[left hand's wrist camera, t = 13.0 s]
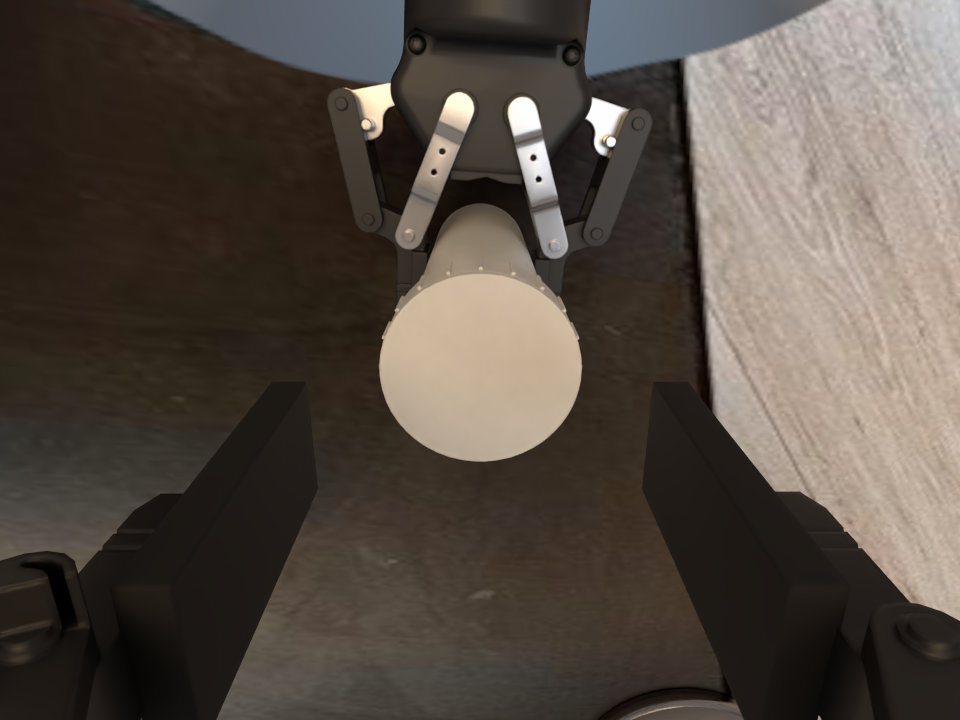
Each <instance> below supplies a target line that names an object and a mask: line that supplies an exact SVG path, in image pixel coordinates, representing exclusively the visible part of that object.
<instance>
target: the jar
mask: <svg viewBox="0 0 960 720" xmlns="http://www.w3.org/2000/svg"><path fill="white" fill-rule="evenodd" d="M479 257H483V259H489V260H496V261H502V262H505V263H510V261H511V262H513V263H514V265H515V266H517V267H520V268H522V269H524V270H526V271H528V272H529V273H531V274H533V275H534V276H537V274H536V271H535V268H534V266H533V263H532V260H531V257H530V255H529V252H528V249H527V247H526V244H525V241H524V239H523V236H522V233H521V231H520V228H519V226H518V224H517V223H516V222H515V220H514V219H513V218H512V217H511V216H510V215H509V214H508V213H507V212H505V211H504V210H502V209H501V208H498V207H496V206H493V205H490V204H479V203H478V204H471V205H467V206H464V207H462V208H460V209H458V210H456V211H455V212H454V213H452V214H451V215H450V216H449V217H448V218H447V219H446V221H445V222H444V223H443V225H442V227H441V229H440V231H439V234H438V236H437V239H436V242H435V245H434V247H433V250H432V253H431V256H430V258H429V261H428V264H427V267H426V269H425V272H424V275H425V276H427V275H428V274H430V273H432V272H433V271H435V270H437V269H439V268H441V267H444V266H446V265H448V262H450V261H452V263H456V262H460V261H465V260H474V259H479Z"/></svg>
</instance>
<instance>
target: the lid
mask: <svg viewBox="0 0 960 720" xmlns="http://www.w3.org/2000/svg"><path fill="white" fill-rule="evenodd" d="M395 311H396V312H395V315H394V317H393V319H392V321H391V322H390V321H389V323H388V325H387V327H386V329H385V332H384V334H383V336H382V339H384V341H383V345H382V349H381V354H380V364H379V368H380V380H381V386H382V390H383V393H384V396H385V399H386V402H387V404H388V406H389V408H390V410H391V412H392V413H393V415H394V416H395V418H396V419H397V421H398V422H399V423H400V425H401V426H402V427H403V428H404V429H405V430H406V431H407V432H408V433H409V434H410V435H411V436H412V437H413V438H414V439H416V440H417V441H418V442H420V443H421V444H423V445H424V446H426V447H428V448H430V449H432V450H433V451H435V452H437V453H440V454H443V455H445V456H448V457H452V458H456V459H460V460H467V461H494V460H501V459H505V458H510V457H513V456H516V455H518V454H521V453H523V452H526V451H528V450H530V449H532V448H533V447H535V446H537V445H538V444H540V443H541V442H543V441H544V440H545V439H546V438H548V437H549V436H550V435H551V434H552V433H553V432H554V431H555V430H556V429H557V428H558V427H559V426H560V425H561V424H562V422H563V421H564V419H565V418H566V417H567V415H568V414H569V412H570V410H571V408H572V406H573V404H574V402H575V399H576V397H577V394H578V391H579V386H580V382H581V371H582V363H581V353H580V348H579V344H578V341H577V340H578V339H579V336H578V334H577V332H576V330H575V327H574V325H573V323H572V322H570V321H569V319H568V317H567V314H566V309H565V306H564V304H563V302H562V300H561V298H560V296H558V297H556V296H555V294H554V293H553V292H552V291H551V290H550V289H549V288H548V286H547V285H546V284H545V283H543V282H542V280H541V277H540V276H539V275H537V276H534V275H533V274H531V273H529V272H528V271H526V270H524V269H522V268H520V267H517V266H515V265H514V263H513V262H511V261H510V263H505V262H502V261H496V260H489V259H483V257H479V259H474V260H465V261H460V262H456V263H452V261H450V262H448V265H446V266H444V267H441V268H439V269H437V270H435V271H433V272H432V273H430V274H428V275H427V276H425V275H422V276H421V278H420V281H419V282H418V283H417V284H416V285H415V286H414V287H413V288H412V289H411V290H410V291H409V292H408V293H407V294H406V296H405V297H404V296H402V297H401V298H400V300H399V302H398V305H397V307H396V309H395Z"/></svg>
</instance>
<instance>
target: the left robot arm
mask: <svg viewBox="0 0 960 720" xmlns="http://www.w3.org/2000/svg"><path fill="white" fill-rule="evenodd" d="M317 490H318V486H317V477H316V467H315V458H314V448H313V439H312V429H311V420H310V410H309V400H308V391H307V382H272V383H271V384H270V385H269V387H268V388H267V389H266V390H265V392H264V393H263V394H262V395H261V397H260V398H259V399H258V400H257V402H256V403H255V404H254V406H253V407H252V408H251V409H250V411H249V412H248V413H247V414H246V416H245V417H244V418H243V419H242V421H241V422H240V423H239V424H238V426H237V427H236V428H235V429H234V431H233V432H232V433H231V434H230V436H229V437H228V438H227V439H226V441H225V442H224V443H223V444H222V446H221V447H220V448H219V450H218V451H217V452H216V453H215V455H214V456H213V457H212V458H211V460H210V461H209V462H208V463H207V465H206V466H205V467H204V468H203V470H202V471H201V472H200V473H199V475H198V476H197V477H196V478H195V480H194V481H193V482H192V483H191V485H190V486H189V487H188V488H187V490H186V491H185V492H184V494H160V495H158V496H156V497H155V498H153V499H152V500H150V501H149V502H147V503H145V504H144V505H142V506H141V507H139V508H137V509H136V510H134V511H133V513H132V514H131V515H130V516H129V517H128V518H127V519H126V520H125V522H124V523H123V524H122V525H121V526H120V527H119V528H118V529H117V534H113V535H112V536H111V537H110V538H109V540H108V541H107V542H106V543H105V544H104V545H103V549H102V551H98V552H97V553H96V554H95V555H94V557H93V558H92V559H91V560H90V561H89V562H88V563H87V564H86V566H85V567H84V568H83V569H82V570H81V571H80V572H79V573H78V572H77V568H76V564H75V561H74V560H73V559H71V558H70V557H69V556H67V555H66V554H64V553H57V552H51V551H43V552H34V553H25V554H22V555H19V556H15V557H12V558H8V559H5V560H2V561H0V720H140V719H141V717H142V720H216V719H217V717H218V714H219V712H220V710H221V707H222V705H223V703H224V701H225V698H226V696H227V694H228V692H229V689H230V687H231V685H232V683H233V680H234V678H235V676H236V673H237V671H238V669H239V667H240V664H241V662H242V660H243V658H244V655H245V653H246V651H247V648H248V646H249V644H250V642H251V639H252V637H253V635H254V633H255V630H256V628H257V626H258V624H259V621H260V619H261V617H262V614H263V612H264V610H265V608H266V605H267V603H268V601H269V599H270V596H271V594H272V592H273V589H274V587H275V585H276V583H277V580H278V578H279V576H280V574H281V571H282V569H283V567H284V564H285V562H286V560H287V558H288V555H289V553H290V551H291V549H292V546H293V544H294V542H295V540H296V537H297V535H298V533H299V530H300V528H301V526H302V524H303V521H304V519H305V517H306V515H307V512H308V510H309V508H310V505H311V503H312V501H313V499H314V496H315V494H316V492H317ZM642 490H643V492H644V494H645V496H646V499H647V501H648V503H649V505H650V508H651V510H652V512H653V515H654V517H655V519H656V521H657V524H658V526H659V528H660V530H661V533H662V535H663V537H664V540H665V542H666V544H667V546H668V549H669V551H670V553H671V555H672V558H673V560H674V562H675V564H676V567H677V569H678V571H679V574H680V576H681V578H682V580H683V583H684V585H685V587H686V589H687V592H688V594H689V596H690V599H691V601H692V603H693V605H694V608H695V610H696V612H697V614H698V617H699V619H700V621H701V624H702V626H703V628H704V630H705V633H706V635H707V637H708V639H709V642H710V644H711V646H712V648H713V651H714V653H715V655H716V658H717V660H718V662H719V664H720V667H721V669H722V671H723V673H724V676H725V678H726V680H727V683H728V685H729V687H730V689H731V692H732V694H733V696H734V698H735V699H733V698H730V697H728V696H725V695H722V694H719V693H715V692H711V691H705V690H697V689H673V690H665V691H658V692H654V693H650V694H646V695H643V696H640V697H637V698H634V699H632V700H629V701H627V702H625V703H623V704H621V705H619V706H618V707H616V708H614V709H613V710H611V711H610V712H608V713H607V714H606V715H604V716H603V717H602V718H601V719H600V720H818V716H820V718H821V719H822V720H960V621H959V620H957V619H955V618H953V617H951V616H949V615H948V614H946V613H944V612H941V611H938V610H935V609H932V608H929V607H926V606H923V605H920V604H915V603H910V602H909V601H908V600H907V598H906V597H905V596H904V595H903V594H902V593H901V592H900V591H899V589H898V588H897V587H896V586H895V585H894V584H893V583H892V582H891V580H890V579H889V578H888V577H887V576H886V575H885V574H884V573H883V572H882V570H881V569H880V568H879V567H878V566H877V565H876V564H875V563H874V561H873V560H872V559H871V558H870V557H869V556H868V555H867V554H866V552H865V551H864V550H863V549H862V548H858V544H857V542H856V541H855V540H854V539H853V538H852V537H851V536H850V535H849V533H848V532H844V530H843V527H842V526H841V524H840V523H839V522H838V521H837V520H836V519H835V518H834V517H833V516H832V514H831V513H830V512H829V511H828V510H827V509H826V508H825V507H823V506H822V505H820V504H818V503H817V502H815V501H814V500H812V499H810V498H809V497H807V496H806V495H804V494H802V493H801V492H775V491H774V490H773V488H772V487H771V486H770V485H769V483H768V482H767V481H766V480H765V478H764V477H763V476H762V475H761V473H760V472H759V471H758V470H757V468H756V467H755V466H754V465H753V463H752V462H751V461H750V460H749V458H748V457H747V456H746V455H745V453H744V452H743V451H742V450H741V448H740V447H739V446H738V444H737V443H736V442H735V441H734V439H733V438H732V437H731V436H730V434H729V433H728V432H727V431H726V429H725V428H724V427H723V426H722V424H721V423H720V422H719V421H718V419H717V418H716V417H715V416H714V414H713V413H712V412H711V411H710V409H709V408H708V407H707V406H706V404H705V403H704V402H703V400H702V399H701V398H700V397H699V395H698V394H697V393H696V392H695V390H694V389H693V388H692V387H691V385H690V384H689V383H688V382H653V391H652V400H651V410H650V419H649V429H648V439H647V448H646V458H645V467H644V477H643V486H642Z"/></svg>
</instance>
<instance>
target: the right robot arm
mask: <svg viewBox="0 0 960 720" xmlns="http://www.w3.org/2000/svg"><path fill="white" fill-rule="evenodd" d="M590 3H591V0H405V10H404V47H403V53H402V57H401V60H400V63H399V65H398V67H397V69H396V70H395V72H394V74H393V76H392V79H391V83H386V84H381V85H376V86H371V87H365V88H360V89H355V90H352V89H348V88H336V89H334V90H333V91H331V92H330V94H329V96H328V98H327V107H328V111H329V115H330V119H331V123H332V127H333V132H334V136H335V140H336V144H337V148H338V152H339V156H340V161H341V165H342V169H343V173H344V177H345V181H346V185H347V190H348V194H349V198H350V202H351V206H352V210H353V215H354V219H355V222H356V225H357V227H358V228H359V229H360V230H362V231H363V232H366V233H376V234H378V235H380V236H383V237H385V238H387V239H389V240H390V241H391V242H392V243H393V244H394V245H395V247H396V249H397V301H396V305H398V302H399V300H400V298H401V297H402V296H404V297H405V296H406V294H407V293H408V292H409V291H410V290H411V289H412V288H413V287H414V286H415V285H416V284H417V283H418V282H419V281H420V278H421V276H422V275H424V272H425V269H426V267H427V264H428V261H429V258H430V255H431V244H427V228H428V226H429V224H430V221H431V219H432V216H433V214H434V211H435V209H436V206H437V204H438V202H439V199H440V197H441V194H442V192H443V190H444V187H445V185H446V182H447V180H448V178H449V177H450V179H451V180H466V181H468V180H473V179H478V178H483V177H488V178H491V179H494V180H497V181H500V182H502V183H510V184H522V185H523V189H524V193H525V197H526V200H527V203H528V207H529V210H530V214H531V218H532V222H533V226H534V230H535V233H536V237H537V250H532V255H531V260H532V263H533V266H534V268H535V271H536V274H537V275H539V276H540V277H541V280H542V282H543V283H545V284H546V285H547V286H548V288H549V289H550V290H551V291H552V292H553V293H554V294H555V296H556V297H558V296H560V298H561V292H562V283H563V274H564V265H565V262H566V259H567V258H568V256H569V255H570V254H571V253H573V252H575V251H577V250H580V249H584V248H587V247H591V246H592V247H600V246H602V245H604V244H605V243H606V242H607V241H608V240H609V237H610V235H611V232H612V230H613V227H614V224H615V222H616V219H617V217H618V214H619V211H620V209H621V206H622V204H623V201H624V198H625V196H626V193H627V191H628V188H629V185H630V183H631V180H632V178H633V175H634V172H635V170H636V167H637V165H638V162H639V159H640V157H641V154H642V152H643V149H644V146H645V144H646V141H647V139H648V136H649V133H650V131H651V128H652V123H653V121H652V117H651V115H650V113H649V112H648V111H647V110H645V109H642V108H635V109H625V108H623V107H620V106H617V105H614V104H611V103H608V102H605V101H602V100H599V99H597V98H594V97H592V91H591V87H590V85H589V82H588V80H587V77H586V73H585V65H584V58H585V48H586V39H587V30H588V21H589V12H590ZM393 107H396V108H397V110H398V111H399V113H400V114H401V116H402V117H403V119H404V121H405V122H406V124H407V125H408V127H409V129H410V130H411V132H412V133H413V135H414V137H415V138H416V140H417V141H418V143H419V145H420V146H421V148H422V149H423V151H424V153H425V157H424V159H423V162H422V164H421V167H420V169H419V172H418V174H417V177H416V179H415V182H414V185H413V187H412V190H411V193H410V196H409V199H408V202H407V204H406V207H405V209H404V211H403V210H400V209H398V208H396V207H394V206H391V205H389V204H388V201H387V197H386V192H385V188H384V183H383V179H382V174H381V170H380V165H379V161H378V156H377V152H376V147H375V143H374V139H377V138H379V137H381V136H382V135H383V134H384V132H385V129H386V116H387V113H388V112H389V111H390V109H392V108H393ZM584 120H585V121H586V122H587V123H588V124H589V125H590V127H591V131H592V135H591V147H592V149H593V150H594V151H595V152H596V153H597V154H600V157H599V160H598V163H597V165H596V168H595V171H594V174H593V176H592V179H591V182H590V185H589V187H588V190H587V193H586V196H585V199H584V201H583V204H582V207H581V210H580V212H579V215H578V217H576V218H572V219H569V220H565V221H563V219H562V215H561V211H560V207H559V200H558V195H557V191H556V186H555V182H554V178H553V174H552V170H551V166H550V161H551V159H552V158H553V157H554V156H555V155H556V153H557V152H558V151H559V150H560V149H561V147H562V146H563V145H564V144H565V142H566V141H567V140H568V139H569V138H570V136H571V135H572V134H573V133H574V132H575V130H576V129H577V128H578V127H579V126H580V124H581V123H582V122H583V121H584Z"/></svg>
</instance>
